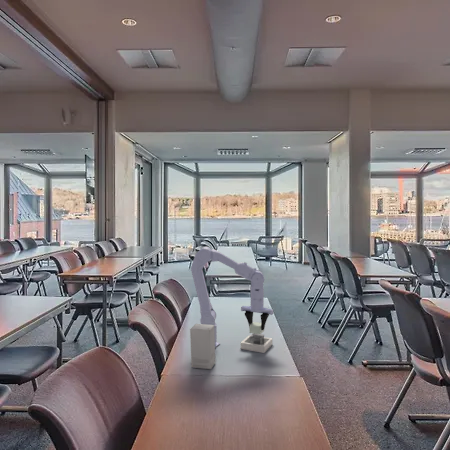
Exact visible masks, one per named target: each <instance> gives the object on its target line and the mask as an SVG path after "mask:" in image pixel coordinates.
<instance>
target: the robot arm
mask: <svg viewBox="0 0 450 450" xmlns="http://www.w3.org/2000/svg"><path fill="white" fill-rule="evenodd" d="M210 261H211V262H212V263H213V262H219V263H221V264H223V265H225V266H227V267H229V268H231V269H233V270H234V272H235V274H236V275H238V276H240V277H242V278H243V279H245V280H247V281H250V285H251V287H250V305H242V306H240V311H241V312H244V316H245V318H246V320H247V323H248V328H249V329H250V324H251V323H253V322H254V321H253V318H254V313H257V314H260V320H261V321H260V323H261V330H264V331H265V327H266V323H267V321H268V318H269V316H270V315H271V316H273V315H274V309H272V308H267V307H265V306H264V299H265V298H264V296H265V295H264V293H265V292H264V291H265V290H264V283H265V278H264V274H263V272H262V271H260V270H259V269H257V268H256V267H254V268H253V267H252V266H250V265H248V263H247V262H245V261H244V262H242V261H240V262H237V261H235V260H234V259H232V258H231V257H229V256H227V255H225V254H224V253H222V252H220V250H219V251H218V250H216V249H214V248H211V247H210V246H202V247H201V248H200V249H199V250H198V251H197V252H196V253H195V254H194V258H193V261H192V263H191V266H190V271H191V275H192V279H193V283H194V287H195V291H196V295H197V299H198V304H199V308H200V311H199V312H200V319H199V321H200V324H206V325H214V332H215V348H216V347H218V346H219V345H221V343H220V342H218V341H217V333H218V332H217V326H218V325H217V323H216V322H215V321H216V319H217V313H216V311H215V310H214V308H213V305H212V303H211V299H210V297H209V295H210V294H209V292H208V287H207V283H206V279H205V275H204V271H203V269H204V267H205V265H207V264H208V263H209V262H210Z"/></svg>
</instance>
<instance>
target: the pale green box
mask: <svg viewBox="0 0 450 450" xmlns="http://www.w3.org/2000/svg"><path fill="white" fill-rule="evenodd" d="M264 332H265V329H264V330H261V322H257V321H253V323H251V324H250V328H249V334H253V333H254V334H263V333H264Z"/></svg>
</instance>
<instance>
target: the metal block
mask: <svg viewBox="0 0 450 450" xmlns="http://www.w3.org/2000/svg"><path fill="white" fill-rule="evenodd" d="M250 335H251V336H250V343H251V344H258V345H264V337H265V334H263V333H261V334H254V333H251V334H250Z"/></svg>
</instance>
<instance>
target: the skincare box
mask: <svg viewBox="0 0 450 450" xmlns="http://www.w3.org/2000/svg"><path fill="white" fill-rule="evenodd" d="M189 332H190V335H189V337H190V363H191V368H193V369H195V368H196V369H203V370H212V368H213V367H214V366H215V364H216V347H215V332H214V325H206V324H201V323H195V324H194V325H193V326H192V327H190V328H189Z"/></svg>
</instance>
